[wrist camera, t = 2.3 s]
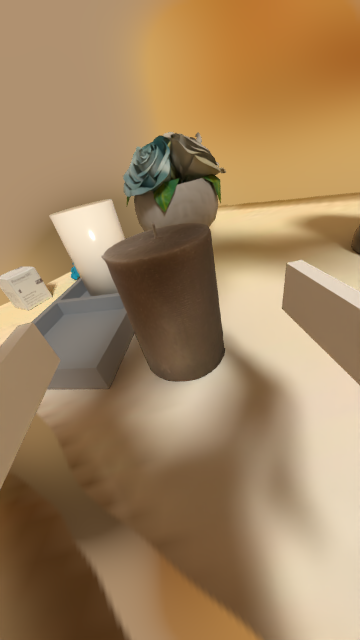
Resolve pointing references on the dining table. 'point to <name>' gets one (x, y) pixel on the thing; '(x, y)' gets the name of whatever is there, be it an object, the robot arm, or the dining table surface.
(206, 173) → the flower arrangement
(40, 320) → the tray
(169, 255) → the pillar candle
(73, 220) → the white candle
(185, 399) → the dining table surface
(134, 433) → the dining table surface
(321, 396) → the dining table surface
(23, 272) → the skincare box
